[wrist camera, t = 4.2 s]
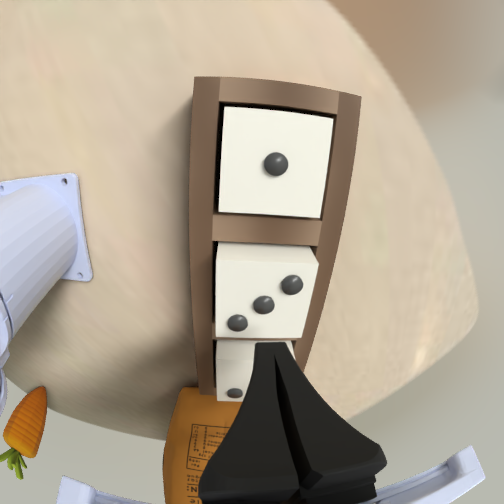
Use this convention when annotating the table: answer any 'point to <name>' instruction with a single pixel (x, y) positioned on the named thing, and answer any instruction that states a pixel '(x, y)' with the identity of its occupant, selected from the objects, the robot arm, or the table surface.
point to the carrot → (25, 429)
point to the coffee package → (193, 442)
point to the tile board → (261, 225)
